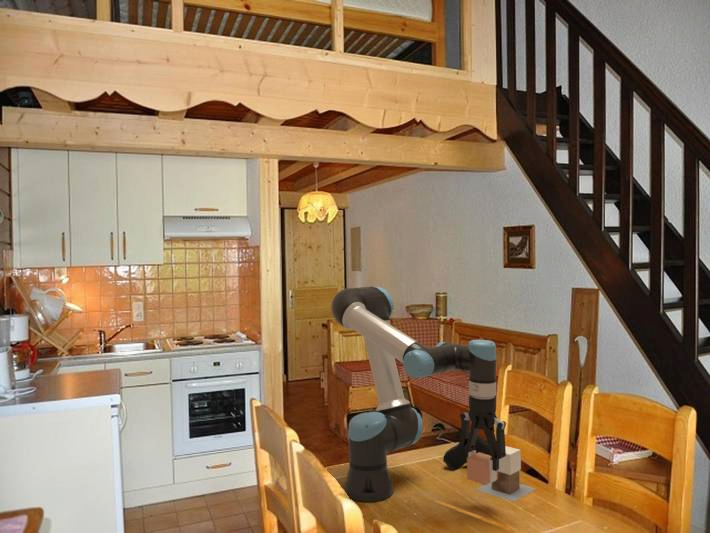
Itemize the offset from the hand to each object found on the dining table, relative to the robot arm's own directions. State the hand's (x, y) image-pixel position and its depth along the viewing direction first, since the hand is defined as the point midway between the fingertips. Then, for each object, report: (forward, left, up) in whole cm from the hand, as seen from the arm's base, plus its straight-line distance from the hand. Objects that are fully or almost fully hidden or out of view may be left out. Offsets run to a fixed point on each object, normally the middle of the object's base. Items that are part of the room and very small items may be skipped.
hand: (482, 477), depth 155 cm
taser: (-19, +25, -10) cm, 33 cm away
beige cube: (-2, +16, -3) cm, 16 cm away
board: (-2, +16, -10) cm, 19 cm away
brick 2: (-2, +16, -9) cm, 18 cm away
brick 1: (0, 0, 0) cm, 0 cm away
